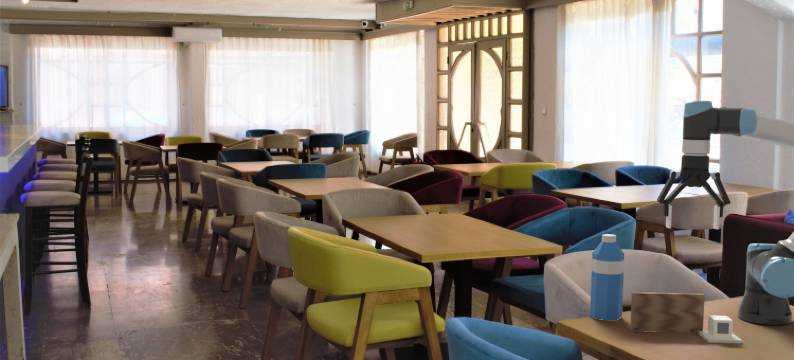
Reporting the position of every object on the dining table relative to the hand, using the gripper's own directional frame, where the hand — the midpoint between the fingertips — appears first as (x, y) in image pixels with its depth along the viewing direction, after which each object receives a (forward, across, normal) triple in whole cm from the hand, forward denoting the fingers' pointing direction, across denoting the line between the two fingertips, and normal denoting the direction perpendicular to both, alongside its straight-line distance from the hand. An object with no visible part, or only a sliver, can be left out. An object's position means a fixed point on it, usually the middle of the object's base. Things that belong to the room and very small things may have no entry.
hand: (692, 228), depth 252 cm
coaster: (+29, -5, +13) cm, 32 cm away
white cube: (+28, -5, +13) cm, 31 cm away
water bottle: (+29, +22, -8) cm, 37 cm away
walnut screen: (+29, +8, +7) cm, 31 cm away
